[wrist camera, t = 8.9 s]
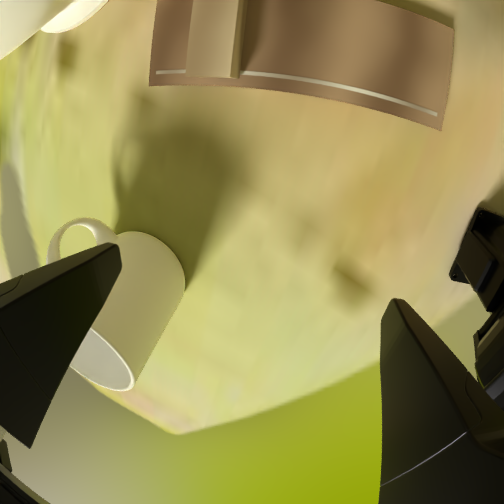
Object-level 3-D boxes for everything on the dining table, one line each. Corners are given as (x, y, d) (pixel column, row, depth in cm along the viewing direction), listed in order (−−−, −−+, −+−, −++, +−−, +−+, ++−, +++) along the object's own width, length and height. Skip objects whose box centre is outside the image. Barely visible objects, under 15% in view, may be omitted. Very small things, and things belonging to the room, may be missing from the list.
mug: (138, 177, 21) (40, 245, 12) (204, 297, 26) (157, 395, 17) (78, 212, 24) (-1, 275, 15) (139, 309, 29) (88, 387, 20)
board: (441, 33, 11) (454, 29, 9) (429, 126, 15) (441, 131, 13) (172, -3, 13) (158, -10, 11) (163, 85, 17) (148, 86, 15)
